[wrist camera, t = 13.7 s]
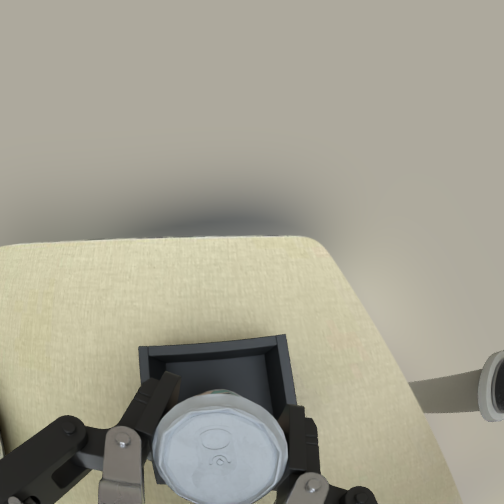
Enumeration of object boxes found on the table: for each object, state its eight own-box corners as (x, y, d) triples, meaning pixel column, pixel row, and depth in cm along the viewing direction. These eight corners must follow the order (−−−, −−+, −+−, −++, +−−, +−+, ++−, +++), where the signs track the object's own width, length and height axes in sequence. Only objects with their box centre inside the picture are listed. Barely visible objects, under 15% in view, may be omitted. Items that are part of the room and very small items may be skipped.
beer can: (193, 451, 16) (162, 521, 5) (182, 392, 18) (134, 398, 7) (258, 443, 17) (304, 504, 6) (247, 384, 19) (282, 383, 8)
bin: (269, 346, 28) (285, 333, 21) (285, 449, 23) (306, 469, 16) (158, 356, 26) (138, 346, 19) (172, 460, 21) (156, 484, 14)
